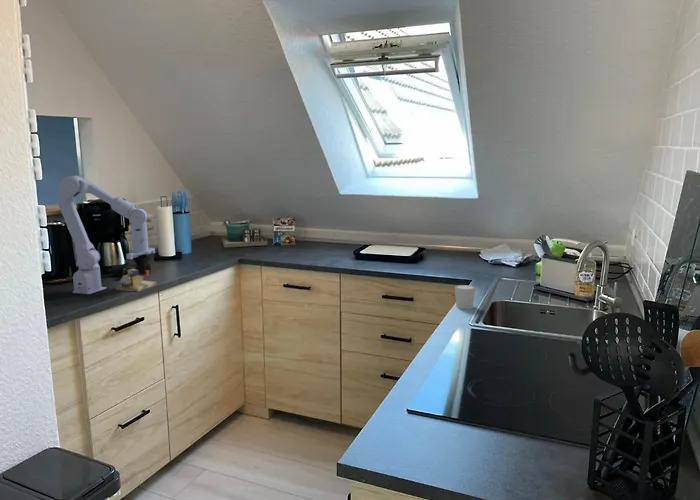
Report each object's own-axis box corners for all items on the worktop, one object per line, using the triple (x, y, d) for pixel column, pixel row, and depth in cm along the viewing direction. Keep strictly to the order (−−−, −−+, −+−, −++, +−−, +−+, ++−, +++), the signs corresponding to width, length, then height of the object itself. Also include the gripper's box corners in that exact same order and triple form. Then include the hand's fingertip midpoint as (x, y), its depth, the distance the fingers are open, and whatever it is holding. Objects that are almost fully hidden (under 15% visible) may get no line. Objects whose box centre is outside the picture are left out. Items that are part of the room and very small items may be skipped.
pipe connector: (147, 267, 228) (108, 268, 224) (147, 279, 229) (109, 281, 225) (150, 262, 239) (113, 264, 235) (151, 274, 240) (114, 275, 236)
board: (137, 291, 208) (137, 288, 208) (115, 289, 211) (115, 287, 211) (157, 284, 219) (157, 281, 219) (136, 282, 222) (136, 280, 222)
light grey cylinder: (450, 305, 188) (450, 286, 187) (465, 302, 192) (465, 283, 190) (463, 310, 182) (464, 290, 181) (478, 307, 186) (479, 287, 185)
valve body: (129, 287, 210) (128, 278, 209) (118, 286, 212) (118, 277, 211) (145, 281, 220) (145, 272, 219) (135, 281, 221) (135, 271, 220)
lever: (126, 275, 214) (126, 270, 214) (131, 273, 217) (130, 268, 216) (145, 276, 211) (145, 271, 211) (150, 275, 214) (149, 270, 214)
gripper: (136, 243, 202) (139, 278, 204) (160, 237, 215) (162, 270, 218) (120, 242, 204) (123, 277, 206) (145, 236, 217) (147, 269, 220)
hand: (142, 274), depth 212 cm, fingers closed, pressing on lever
